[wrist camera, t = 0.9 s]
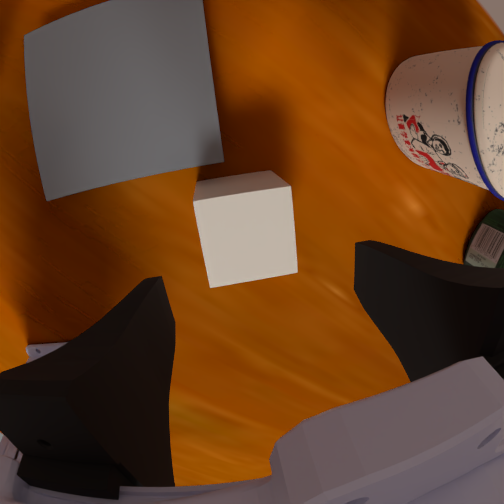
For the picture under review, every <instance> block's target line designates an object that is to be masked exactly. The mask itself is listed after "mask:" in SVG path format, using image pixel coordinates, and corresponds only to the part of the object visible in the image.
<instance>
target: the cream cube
mask: <svg viewBox="0 0 504 504" xmlns="http://www.w3.org/2000/svg"><path fill="white" fill-rule="evenodd" d="M193 204H194V209H195V215H196V220H197V225H198V230H199V235H200V240H201V245H202V250H203V255H204V260H205V265H206V270H207V275H208V279H209V284H210V288H212V287H218V286H224V285H230V284H236V283H242V282H247V281H253V280H259V279H264V278H270V277H276V276H281V275H287V274H292V273H297V272H298V270H297V255H296V241H295V228H294V216H293V204H292V193H291V186H290V185H289V184H288V183H286V182H285V181H284V180H283V179H281V178H280V177H279V176H278V175H276V174H275V173H274V172H272V171H271V170H268V171H261V172H254V173H247V174H240V175H234V176H227V177H221V178H215V179H209V180H203V181H197V182H196V187H195V193H194V199H193Z"/></svg>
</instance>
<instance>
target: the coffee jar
mask: <svg viewBox="0 0 504 504" xmlns="http://www.w3.org/2000/svg"><path fill="white" fill-rule="evenodd" d="M464 265H469V266H478V267H488V268H504V210H502V209H495V210H493V211H491V212H489V213H488V214H487V215H486V217H485V218H484V219H483V220H482V221H481V222H480V223H479V225H478V226H477V228H476V229H475V231H474V233H473V235H472V237H471V239H470V241H469V244H468V248H467V250H466V254H465V258H464Z"/></svg>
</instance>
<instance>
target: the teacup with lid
mask: <svg viewBox="0 0 504 504" xmlns="http://www.w3.org/2000/svg"><path fill="white" fill-rule="evenodd" d="M385 107H386V116H387V121H388V125H389V128H390V131H391V134H392V136H393V138H394V140H395V142H396V144H397V145H398V147H399V148H400V149H401V151H402V152H403V153H404V154H405V155H406V156H407V157H408V158H409V159H410V160H411V161H413V162H414V163H416V164H418V165H420V166H422V167H425V168H428V169H431V170H434V171H437V172H440V173H443V174H446V175H449V176H452V177H455V178H458V179H460V180H463V181H466V182H469V183H471V184H474V185H477V186H479V187H482V188H485V189H487V190H490V191H491V193H492V194H494V195H495V196H496V197H497V198H499V199H501V200H503V201H504V41H500V40H499V41H492V42H489V43H487V44H486V45H484V46H480V47H471V48H462V49H455V50H448V51H441V52H435V53H429V54H424V55H418V56H414V57H411V58H409V59H407V60H405V61H404V62H402V63H401V64H400V65H399V66H398V67H397V68H396V69H395V71H394V73H393V74H392V76H391V78H390V81H389V83H388V87H387V91H386V100H385Z"/></svg>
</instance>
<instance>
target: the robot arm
mask: <svg viewBox="0 0 504 504" xmlns="http://www.w3.org/2000/svg"><path fill="white" fill-rule="evenodd" d="M354 290H355V292H356V294H357V296H358V298H359V300H360V302H361V304H362V306H363V308H364V309H365V311H366V312H367V314H368V315H369V316H370V318H371V319H372V320H373V322H374V323H375V325H376V326H377V327H378V329H379V330H380V331H381V333H382V334H383V335H384V337H385V338H386V340H387V341H388V342H389V344H390V345H391V346H392V348H393V349H394V351H395V353H396V354H397V356H398V358H399V360H400V361H401V363H402V365H403V367H404V369H405V371H406V373H407V375H408V377H409V379H410V381H411V382H410V383H408V384H405V385H402V386H400V387H397V388H394V389H392V390H389V391H386V392H383V393H380V394H377V395H374V396H371V397H368V398H365V399H362V400H358V401H355V402H352V403H349V404H345V405H342V406H338V407H335V408H332V409H330V410H328V411H325V412H323V413H320V414H318V415H316V416H313V417H310V418H308V419H305V420H303V421H302V422H300V423H299V424H298V425H297V426H295V427H294V428H293V429H291V430H290V431H289V432H287V433H286V434H285V435H283V436H282V437H281V438H280V439H279V440H278V441H277V442H276V443H275V446H274V448H273V451H272V454H271V456H270V459H269V460H270V465H271V470H272V475H270V476H267V477H264V478H259V479H253V480H246V481H239V482H231V483H222V484H212V485H200V486H182V487H175V483H174V476H173V467H172V458H171V447H170V431H169V392H170V383H171V375H172V368H173V360H174V352H175V320H174V317H173V314H172V310H171V307H170V304H169V300H168V297H167V294H166V290H165V287H164V283H163V280H162V276H159V277H153V278H147V279H144V280H143V281H142V282H141V283H139V284H138V285H137V286H136V287H135V288H134V289H133V290H132V291H131V292H130V293H129V294H128V295H127V296H126V297H125V298H124V299H123V300H122V301H121V302H119V303H118V304H117V305H116V306H115V307H114V308H113V309H112V310H111V311H109V312H108V313H107V314H106V315H105V316H104V317H103V318H102V319H100V320H99V321H98V322H97V323H96V324H94V325H93V326H92V327H90V328H89V329H88V330H86V331H85V332H83V333H82V334H81V335H79V336H78V337H76V338H74V339H73V340H71V341H69V342H64V343H50V344H35V345H28V346H27V347H26V351H27V353H28V355H29V359H28V361H27V362H26V364H23V365H20V366H18V367H15V368H12V369H9V370H6V371H3V372H1V373H0V431H1V432H2V433H3V434H4V435H3V438H2V440H1V442H0V504H504V268H488V267H478V266H469V265H462V264H457V263H452V262H447V261H442V260H438V259H434V258H431V257H427V256H424V255H420V254H417V253H414V252H410V251H407V250H404V249H401V248H398V247H395V246H392V245H388V244H385V243H381V242H377V241H372V240H368V241H362V242H357V243H355V276H354ZM38 349H39V350H38Z"/></svg>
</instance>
